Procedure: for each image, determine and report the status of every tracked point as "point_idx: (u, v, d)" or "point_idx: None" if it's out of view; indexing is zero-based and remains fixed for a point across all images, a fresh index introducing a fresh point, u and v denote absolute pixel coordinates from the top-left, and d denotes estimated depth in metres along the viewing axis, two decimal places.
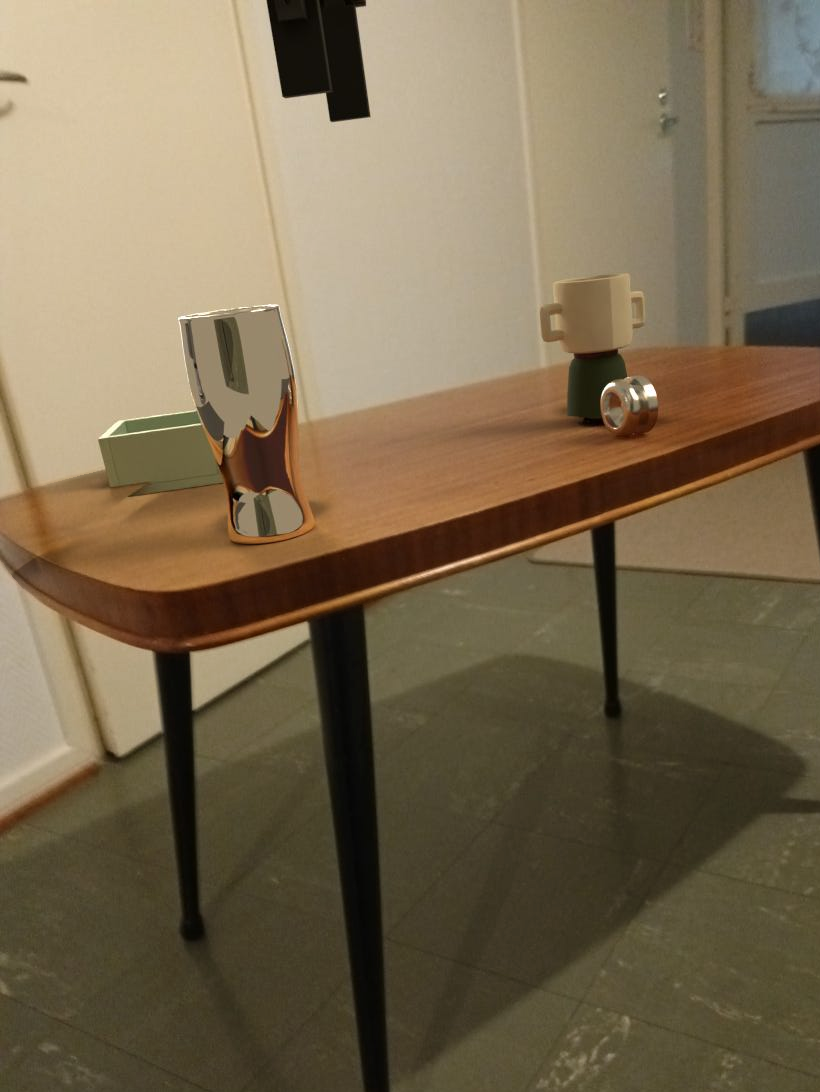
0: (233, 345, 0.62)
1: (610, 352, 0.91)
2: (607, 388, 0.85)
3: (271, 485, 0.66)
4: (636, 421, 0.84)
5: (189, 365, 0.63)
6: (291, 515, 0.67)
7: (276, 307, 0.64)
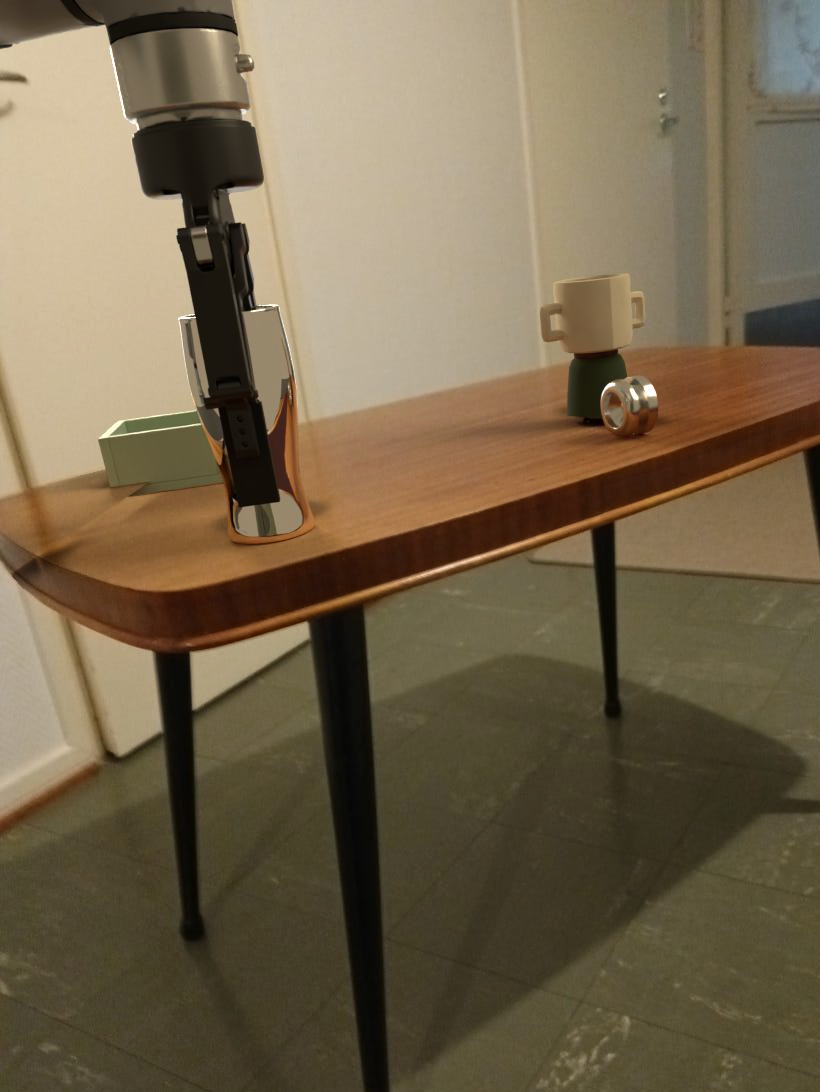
0: None
1: (610, 352, 0.91)
2: (607, 388, 0.85)
3: None
4: (636, 421, 0.84)
5: (189, 365, 0.63)
6: (291, 515, 0.67)
7: (276, 307, 0.64)
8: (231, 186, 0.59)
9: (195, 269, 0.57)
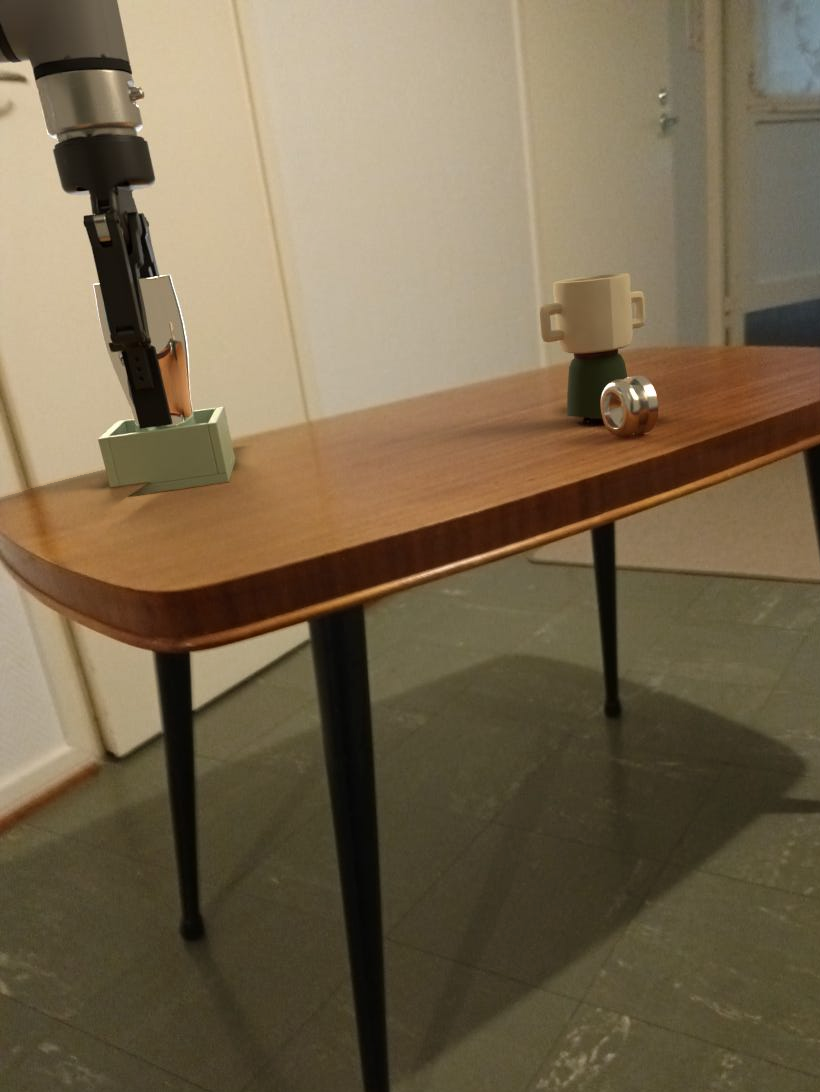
0: None
1: (610, 352, 0.91)
2: (607, 388, 0.85)
3: None
4: (636, 421, 0.84)
5: (101, 320, 0.84)
6: None
7: (167, 276, 0.84)
8: (127, 184, 0.80)
9: (98, 245, 0.78)
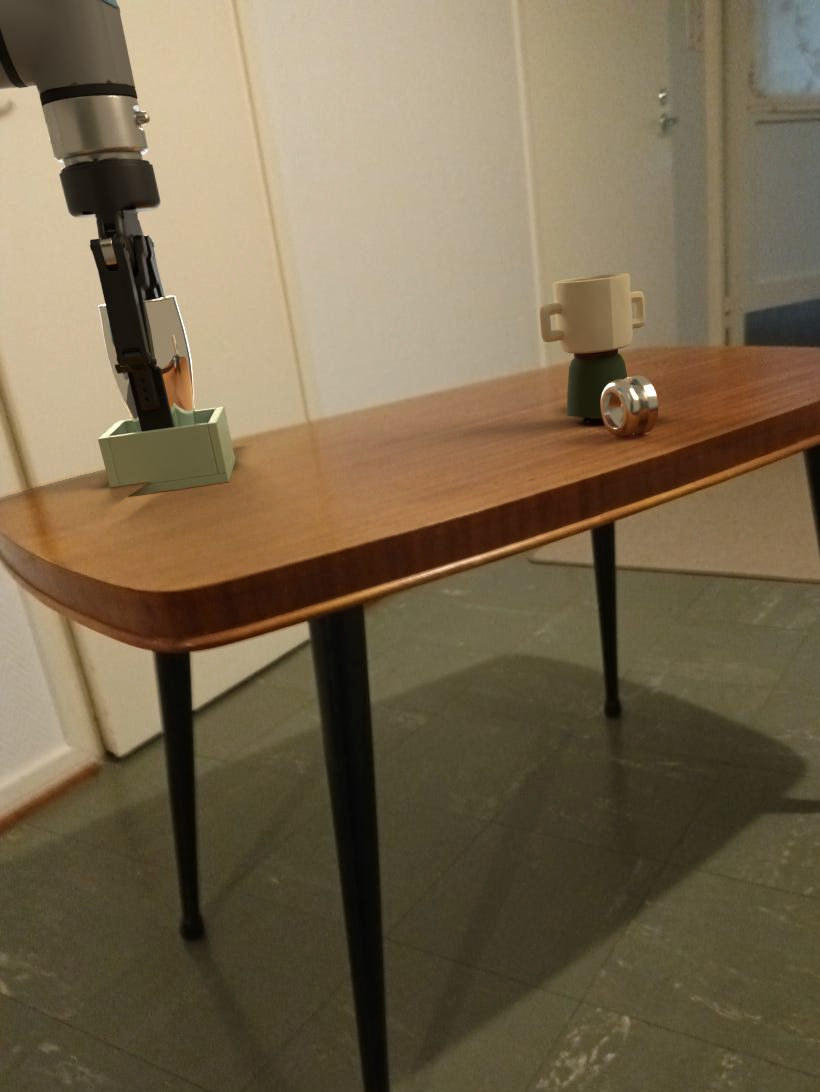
0: None
1: (610, 352, 0.91)
2: (607, 388, 0.85)
3: None
4: (636, 421, 0.84)
5: (106, 341, 0.85)
6: None
7: (172, 297, 0.85)
8: (133, 208, 0.81)
9: (105, 269, 0.79)
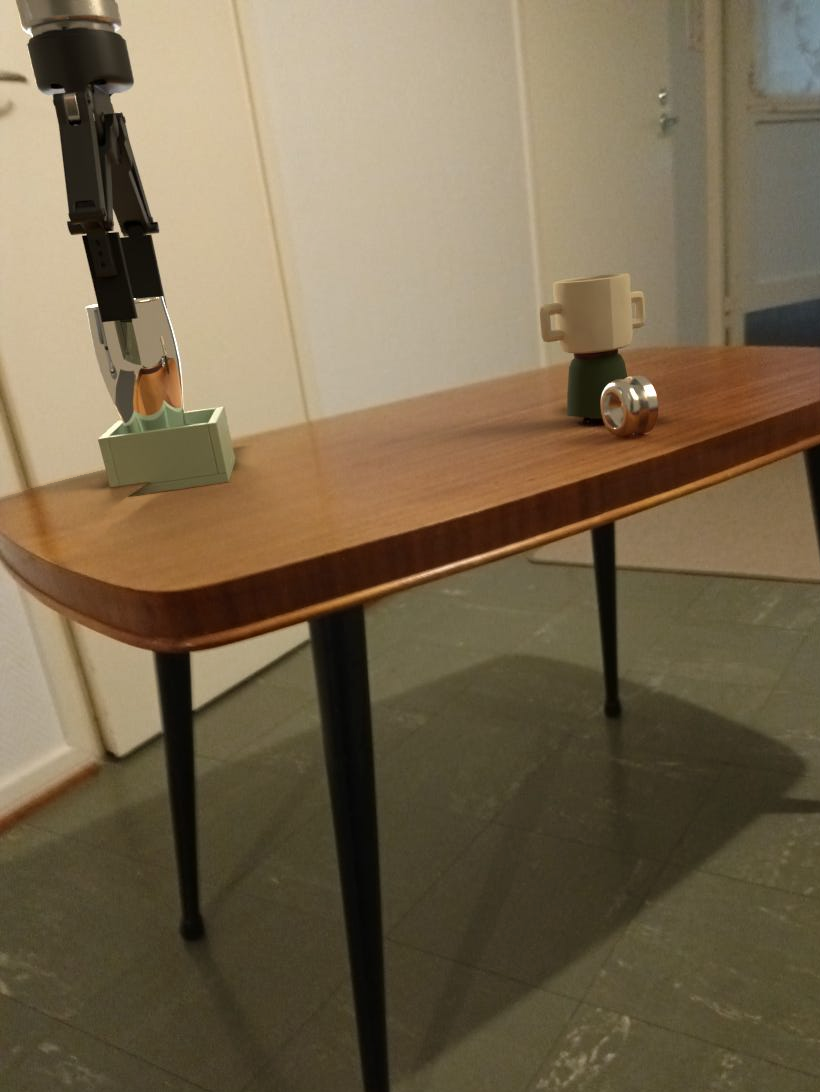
0: (125, 327, 0.83)
1: (610, 352, 0.91)
2: (607, 388, 0.85)
3: None
4: (636, 421, 0.84)
5: (94, 342, 0.85)
6: None
7: (159, 298, 0.85)
8: (104, 83, 0.77)
9: (66, 123, 0.74)
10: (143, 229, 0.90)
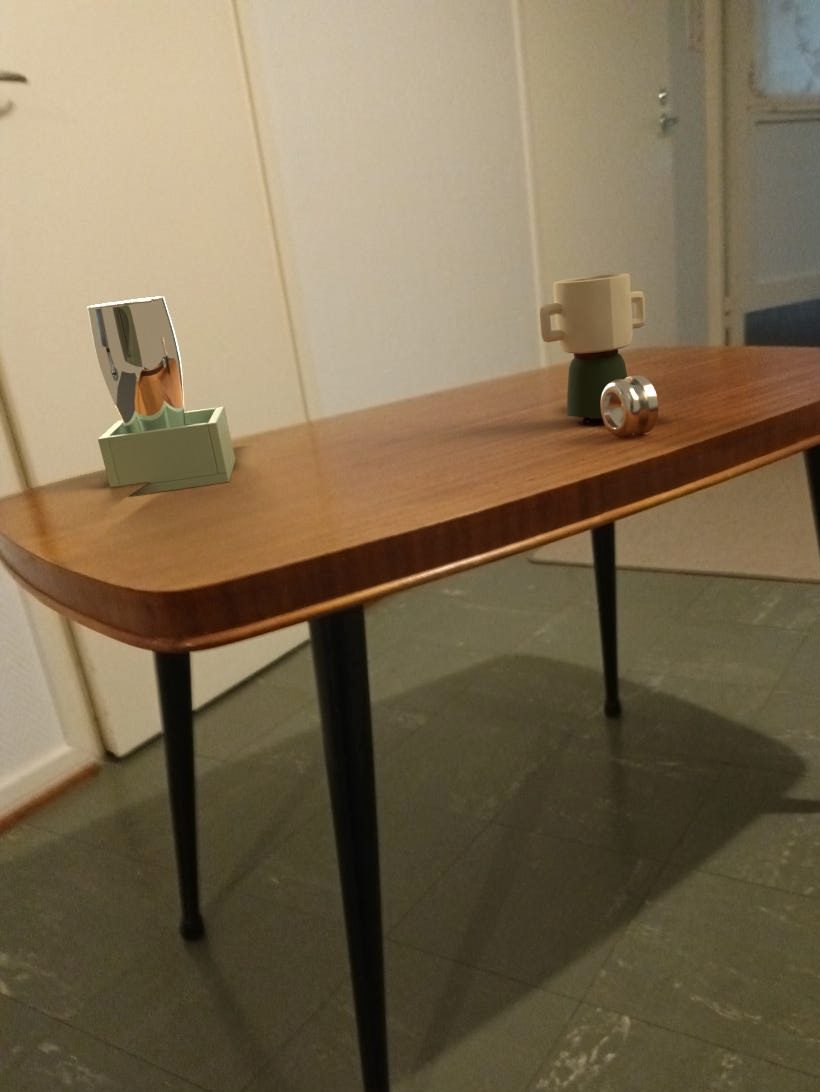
0: (125, 327, 0.83)
1: (610, 352, 0.91)
2: (607, 388, 0.85)
3: None
4: (636, 421, 0.84)
5: (95, 342, 0.85)
6: None
7: (160, 298, 0.85)
8: None
9: None
10: None
